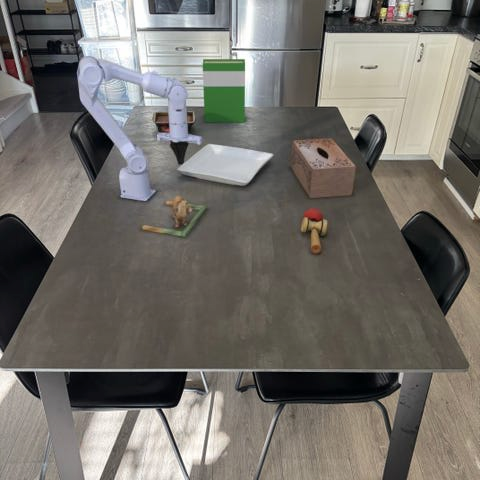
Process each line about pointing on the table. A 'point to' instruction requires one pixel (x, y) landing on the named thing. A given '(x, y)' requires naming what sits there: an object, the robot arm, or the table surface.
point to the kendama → (314, 227)
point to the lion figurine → (181, 210)
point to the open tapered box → (163, 121)
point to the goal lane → (188, 227)
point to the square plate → (225, 164)
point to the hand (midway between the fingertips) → (181, 163)
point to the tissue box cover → (322, 168)
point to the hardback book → (224, 90)
